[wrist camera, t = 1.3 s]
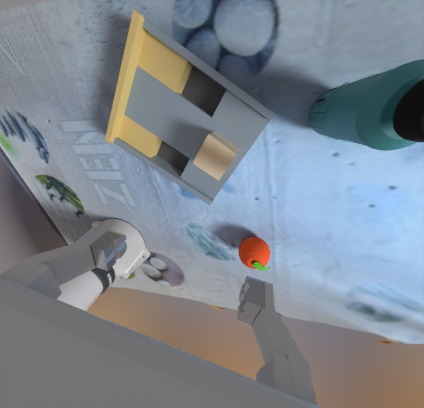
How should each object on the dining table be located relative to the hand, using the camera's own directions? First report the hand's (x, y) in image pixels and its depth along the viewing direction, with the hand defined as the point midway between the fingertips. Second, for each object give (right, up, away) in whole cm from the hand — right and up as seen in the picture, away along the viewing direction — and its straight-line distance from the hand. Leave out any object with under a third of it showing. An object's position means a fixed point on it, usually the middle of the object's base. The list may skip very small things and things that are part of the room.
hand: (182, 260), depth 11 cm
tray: (-2, +18, +21) cm, 28 cm away
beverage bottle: (+20, +18, +16) cm, 31 cm away
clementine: (+13, -6, +31) cm, 34 cm away
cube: (+3, +13, +19) cm, 23 cm away
